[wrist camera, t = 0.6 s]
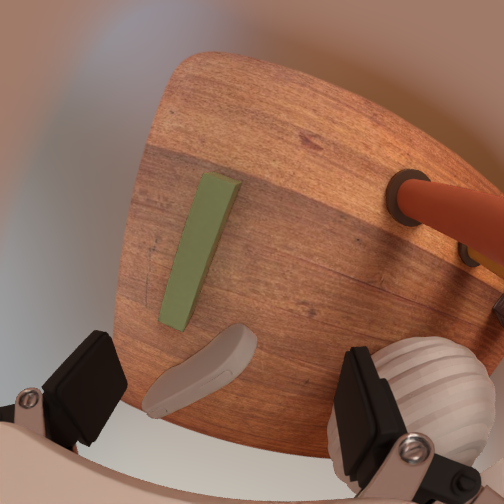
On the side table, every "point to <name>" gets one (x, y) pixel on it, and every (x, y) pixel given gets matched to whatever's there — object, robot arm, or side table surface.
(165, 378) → the grey flat slab
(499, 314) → the box
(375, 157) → the side table surface
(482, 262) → the ochre rod
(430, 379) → the table lamp
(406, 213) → the terracotta rod
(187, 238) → the green bar
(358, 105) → the side table surface
